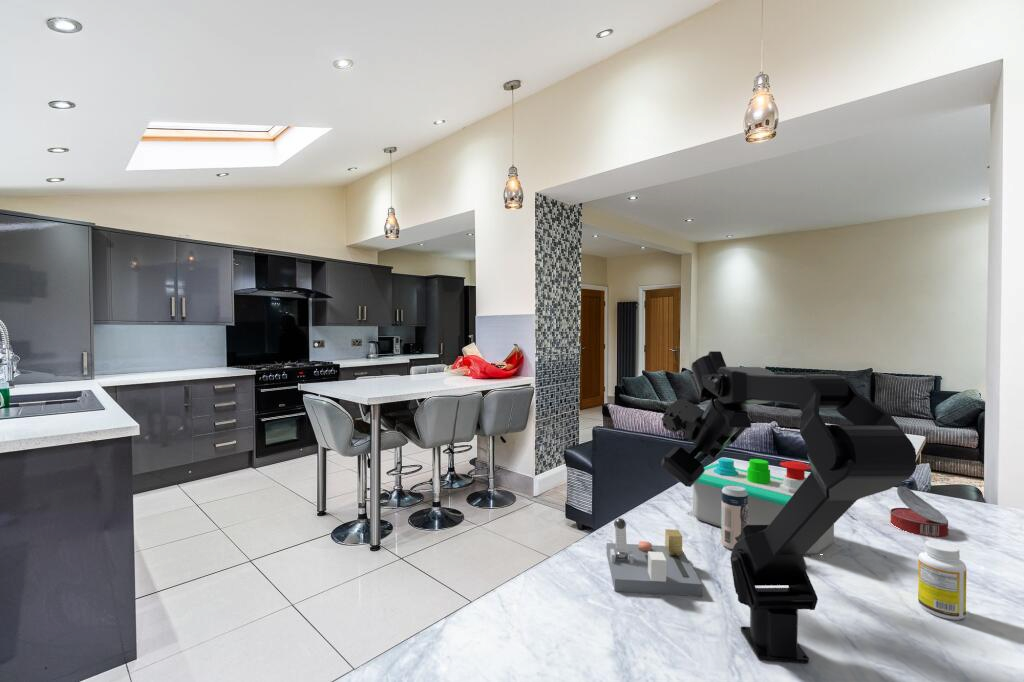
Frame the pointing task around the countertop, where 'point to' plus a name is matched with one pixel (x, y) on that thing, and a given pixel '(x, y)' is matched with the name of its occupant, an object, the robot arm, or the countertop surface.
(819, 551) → the control panel
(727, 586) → the countertop surface
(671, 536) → the brushed brass brick
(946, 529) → the canned food
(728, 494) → the beer can
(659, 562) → the white block
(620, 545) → the toggle lever
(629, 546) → the panel
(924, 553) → the supplement bottle
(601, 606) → the countertop surface
